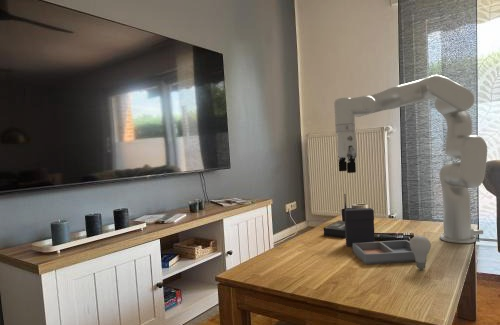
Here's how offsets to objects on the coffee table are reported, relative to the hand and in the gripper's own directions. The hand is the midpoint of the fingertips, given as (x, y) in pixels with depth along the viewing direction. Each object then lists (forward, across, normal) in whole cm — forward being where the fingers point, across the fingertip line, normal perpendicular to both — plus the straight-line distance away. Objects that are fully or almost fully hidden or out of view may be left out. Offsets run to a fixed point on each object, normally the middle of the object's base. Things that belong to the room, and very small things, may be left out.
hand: (347, 171), depth 134 cm
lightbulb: (+31, -28, -13) cm, 44 cm away
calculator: (+31, +1, -4) cm, 31 cm away
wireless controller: (+31, +23, -5) cm, 39 cm away
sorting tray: (+31, -14, -9) cm, 35 cm away
